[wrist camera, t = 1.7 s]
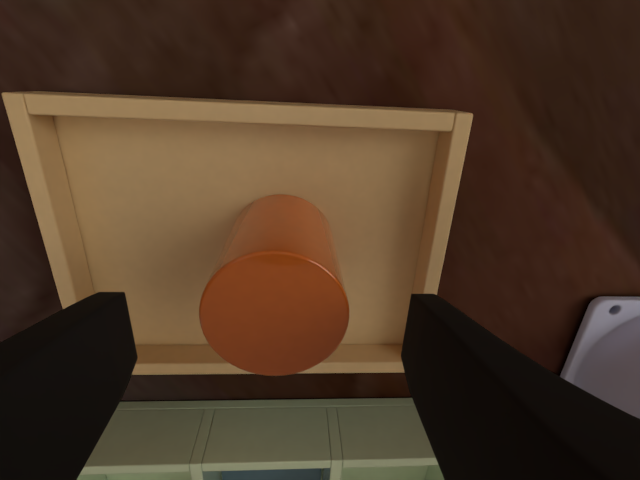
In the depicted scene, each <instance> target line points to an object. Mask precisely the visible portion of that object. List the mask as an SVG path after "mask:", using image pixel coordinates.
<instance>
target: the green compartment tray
mask: <svg viewBox="0 0 640 480" xmlns="http://www.w3.org/2000/svg"><path fill="white" fill-rule="evenodd" d="M77 480H444V477H443V475H442V472H441V470H440V467H439V465H438V462H437V460H436V457H435V455H434V452H433V450H432V447H431V445H430V442H429V440H428V437H427V435H426V432H425V430H424V427H423V425H422V422H421V419H420V417H419V414H418V412H417V409H416V407H415V404H414V402H413V399H412V398H355V399H281V400H208V401H134V402H119V404H118V406H117V408H116V410H115V412H114V414H113V415H112V417H111V419H110V421H109V423H108V424H107V426H106V428H105V430H104V432H103V434H102V435H101V437H100V439H99V441H98V442H97V444H96V446H95V448H94V450H93V451H92V453H91V455H90V457H89V459H88V460H87V462H86V464H85V466H84V468H83V469H82V471H81V473H80V475H79V476H78V478H77Z"/></svg>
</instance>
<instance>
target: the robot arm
mask: <svg viewBox="0 0 640 480" xmlns="http://www.w3.org/2000/svg"><path fill="white" fill-rule="evenodd" d="M611 307H612V308H611ZM137 359H138V356H137V351H136V346H135V341H134V336H133V331H132V326H131V321H130V316H129V311H128V306H127V301H126V296H125V292H98V293H95V294H93V295H91V296H88V297H86V298H84V299H82V300H80V301H78V302H76V303H74V304H72V305H70V306H68V307H66V308H65V309H63V310H61V311H59V312H57V313H55V314H53V315H51V316H50V317H48V318H46V319H44V320H42V321H40V322H38V323H36V324H35V325H33V326H31V327H29V328H27V329H25V330H23V331H21V332H20V333H18V334H16V335H14V336H12V337H10V338H8V339H6V340H4V341H2V342H0V480H77V478H78V476H79V475H80V473H81V471H82V469H83V468H84V466H85V464H86V462H87V460H88V459H89V457H90V455H91V453H92V451H93V450H94V448H95V446H96V444H97V442H98V441H99V439H100V437H101V435H102V434H103V432H104V430H105V428H106V426H107V424H108V423H109V421H110V419H111V417H112V415H113V414H114V412H115V410H116V408H117V406H118V404H119V402H120V401H121V399H122V397H123V395H124V392H125V390H126V387H127V385H128V382H129V380H130V378H131V375H132V372H133V370H134V367H135V364H136V362H137ZM401 359H402V363H403V367H404V372H405V376H406V379H407V383H408V387H409V391H410V394H411V396H412V399H413V402H414V404H415V407H416V409H417V412H418V414H419V417H420V419H421V422H422V425H423V427H424V430H425V432H426V435H427V437H428V440H429V442H430V445H431V447H432V450H433V452H434V455H435V457H436V460H437V462H438V465H439V467H440V470H441V472H442V475H443V477H444V480H640V297H617V296H602V297H597V298H595V299H593V300H592V301H591V302H590V304H589V305H588V308H587V310H586V313H585V315H584V318H583V320H582V323H581V325H580V327H579V330H578V332H577V335H576V337H575V340H574V342H573V345H572V347H571V350H570V352H569V355H568V357H567V360H566V362H565V365H564V367H563V370H562V372H561V375H560V377H559V376H558V375H556V374H554V373H553V372H551V371H549V370H548V369H546V368H544V367H543V366H541V365H540V364H538V363H536V362H535V361H533V360H532V359H530V358H528V357H527V356H525V355H524V354H522V353H520V352H519V351H517V350H516V349H514V348H513V347H511V346H510V345H508V344H507V343H505V342H504V341H502V340H501V339H499V338H498V337H497V336H495V335H494V334H492V333H491V332H489V331H488V330H486V329H485V328H484V327H482V326H481V325H479V324H478V323H476V322H475V321H474V320H472V319H471V318H469V317H468V316H467V315H465V314H464V313H462V312H461V311H460V310H458V309H457V308H455V307H454V306H452V305H451V304H450V303H448V302H447V301H445V300H444V299H442V298H440V297H439V296H437V295H435V294H411V298H410V304H409V310H408V316H407V322H406V328H405V334H404V339H403V345H402V351H401Z"/></svg>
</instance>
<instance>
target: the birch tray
mask: <svg viewBox="0 0 640 480" xmlns="http://www.w3.org/2000/svg"><path fill="white" fill-rule="evenodd" d="M2 97H3V101H4V104H5V108H6V111H7V115H8V118H9V122H10V125H11V129H12V133H13V136H14V140H15V143H16V147H17V150H18V154H19V157H20V161H21V164H22V168H23V171H24V175H25V178H26V182H27V185H28V189H29V192H30V196H31V199H32V203H33V206H34V210H35V213H36V217H37V220H38V224H39V227H40V231H41V235H42V238H43V242H44V245H45V249H46V252H47V256H48V259H49V263H50V266H51V270H52V273H53V277H54V280H55V284H56V287H57V291H58V294H59V298H60V301H61V305H62V308H63V309H65V308H66V307H68V306H70V305H72V304H74V303H76V302H78V301H80V300H82V299H84V298H86V297H88V296H91V295H93V294H95V293H98V292H125V296H126V301H127V306H128V311H129V316H130V321H131V326H132V331H133V336H134V341H135V346H136V351H137V356H138V359H137V362H136V364H135V367H134V370H133V372H132V375H167V374H255V373H251V372H247V371H245V370H242V369H239V368H237V367H235V366H233V365H232V364H230V363H228V362H227V361H225V360H224V359H223V358H222V357H220V356H219V355H218V354H217V353H216V352H215V351H214V350H213V349H212V347H211V346H210V345H209V343H208V342H207V340H206V338H205V336H204V334H203V331H202V328H201V325H200V320H199V304H200V299H201V296H202V293H203V290H204V288H205V286H206V284H207V281H208V279H209V277H210V275H211V273H212V270H213V268H214V266H215V264H216V261H217V259H218V257H219V255H220V253H221V250H222V248H223V246H224V244H225V241H226V239H227V237H228V235H229V233H230V230H231V228H232V226H233V224H234V222H235V220H236V218H237V216H238V215H239V214H240V212H241V211H242V210H243V209H244V208H245V207H246V206H248V205H249V204H250V203H252V202H254V201H255V200H257V199H260V198H262V197H266V196H269V195H276V194H285V195H292V196H297V197H299V198H302V199H304V200H306V201H308V202H310V203H312V204H313V205H314V206H316V207H317V208H318V209H319V210H320V211H321V212H322V213H323V214H324V216H325V217H326V219H327V220H328V222H329V225H330V227H331V230H332V234H333V238H334V242H335V247H336V251H337V255H338V259H339V264H340V268H341V272H342V276H343V281H344V285H345V289H346V293H347V298H348V302H349V309H350V314H349V323H348V327H347V330H346V333H345V335H344V337H343V339H342V341H341V343H340V344H339V346H338V347H337V349H336V350H335V351H334V352H333V353H332V354H331V355H330V356H329V357H328V358H326V359H325V360H324V361H322V362H321V363H319V364H318V365H316V366H314V367H312V368H310V369H307V370H305V371H302V372H299V373H403V372H404V367H403V363H402V359H401V351H402V345H403V339H404V334H405V328H406V322H407V316H408V310H409V304H410V298H411V294H435V295H437V291H438V286H439V281H440V276H441V272H442V267H443V262H444V257H445V252H446V247H447V242H448V237H449V232H450V227H451V222H452V217H453V212H454V207H455V203H456V198H457V193H458V188H459V183H460V178H461V173H462V168H463V163H464V158H465V153H466V148H467V143H468V138H469V134H470V129H471V124H472V119H473V114H472V113H468V112H462V111H457V110H447V109H425V108H403V107H380V106H358V105H336V104H314V103H292V102H269V101H247V100H225V99H203V98H181V97H158V96H136V95H114V94H92V93H69V92H47V91H31V92H4V93H2Z"/></svg>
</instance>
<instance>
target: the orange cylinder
mask: <svg viewBox="0 0 640 480" xmlns="http://www.w3.org/2000/svg"><path fill="white" fill-rule="evenodd" d="M349 314H350V309H349V302H348V298H347V293H346V289H345V285H344V281H343V276H342V272H341V268H340V264H339V259H338V255H337V251H336V247H335V242H334V238H333V234H332V230H331V227H330V225H329V222H328V220H327V219H326V217H325V216H324V214H323V213H322V212H321V211H320V210H319V209H318V208H317V207H316V206H314V205H313V204H312V203H310V202H308V201H306V200H304V199H302V198H299V197H297V196H292V195H285V194H276V195H269V196H266V197H262V198H260V199H257V200H255V201H254V202H252V203H250V204H249V205H248V206H246V207H245V208H244V209H243V210H242V211H241V212H240V214H239V215H238V216H237V218H236V220H235V222H234V224H233V226H232V228H231V230H230V233H229V235H228V237H227V239H226V241H225V244H224V246H223V248H222V250H221V253H220V255H219V257H218V259H217V261H216V264H215V266H214V268H213V270H212V273H211V275H210V277H209V279H208V281H207V284H206V286H205V288H204V290H203V293H202V296H201V299H200V304H199V320H200V325H201V328H202V331H203V334H204V336H205V338H206V340H207V342H208V343H209V345H210V346H211V347H212V349H213V350H214V351H215V352H216V353H217V354H218V355H219V356H220V357H222V358H223V359H224V360H225V361H227V362H228V363H230V364H232V365H233V366H235V367H237V368H239V369H242V370H245V371H247V372H251V373H255V374H260V375H267V376H281V375H290V374H295V373H299V372H302V371H305V370H307V369H310V368H312V367H314V366H316V365H318V364H319V363H321V362H322V361H324V360H325V359H326V358H328V357H329V356H330V355H331V354H332V353H333V352H334V351H335V350H336V349H337V347H338V346H339V344H340V343H341V341H342V339H343V337H344V335H345V333H346V330H347V327H348V323H349Z"/></svg>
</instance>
